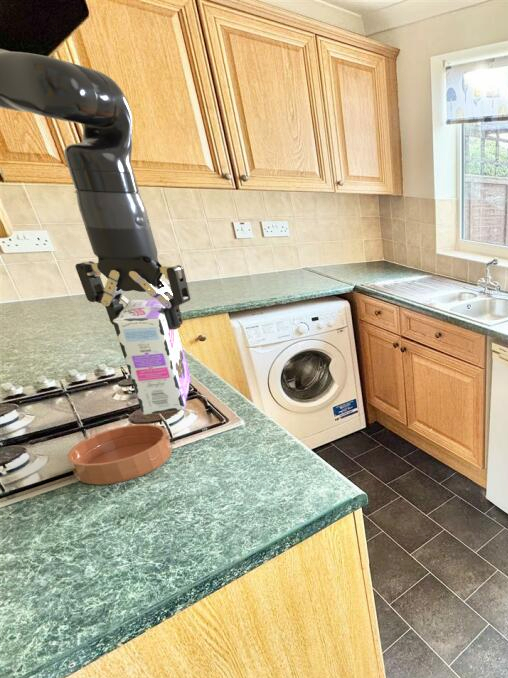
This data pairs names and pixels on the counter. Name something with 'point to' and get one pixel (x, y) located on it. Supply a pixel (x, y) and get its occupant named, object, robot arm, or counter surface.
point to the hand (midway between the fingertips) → (149, 327)
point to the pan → (120, 454)
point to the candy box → (153, 356)
